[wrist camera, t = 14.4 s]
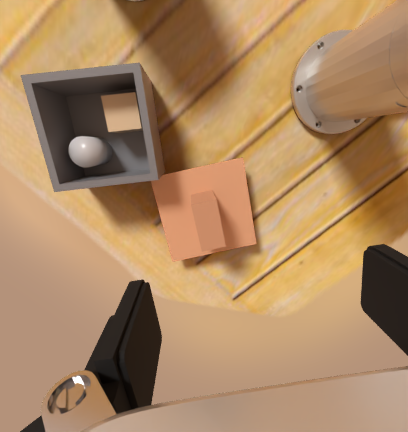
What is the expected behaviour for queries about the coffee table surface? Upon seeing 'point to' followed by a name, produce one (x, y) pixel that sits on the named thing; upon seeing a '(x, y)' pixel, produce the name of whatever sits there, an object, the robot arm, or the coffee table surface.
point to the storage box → (96, 126)
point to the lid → (205, 209)
